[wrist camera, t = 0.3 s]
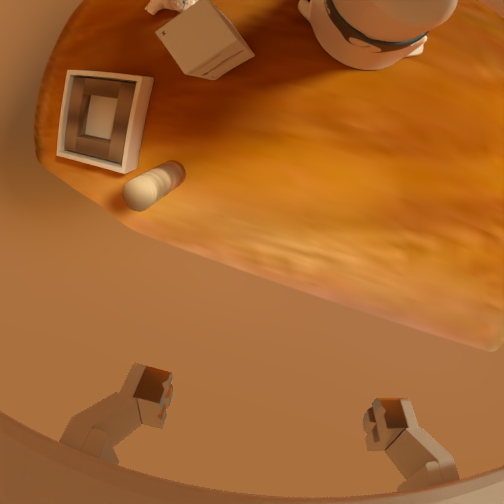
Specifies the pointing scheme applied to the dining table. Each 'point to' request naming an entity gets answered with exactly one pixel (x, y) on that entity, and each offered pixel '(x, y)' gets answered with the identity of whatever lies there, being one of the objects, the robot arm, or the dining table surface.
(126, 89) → the bore plate
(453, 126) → the dining table surface
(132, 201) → the birch peg
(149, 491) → the robot arm
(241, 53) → the supplement box
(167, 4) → the seated beast figurine
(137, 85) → the open box
